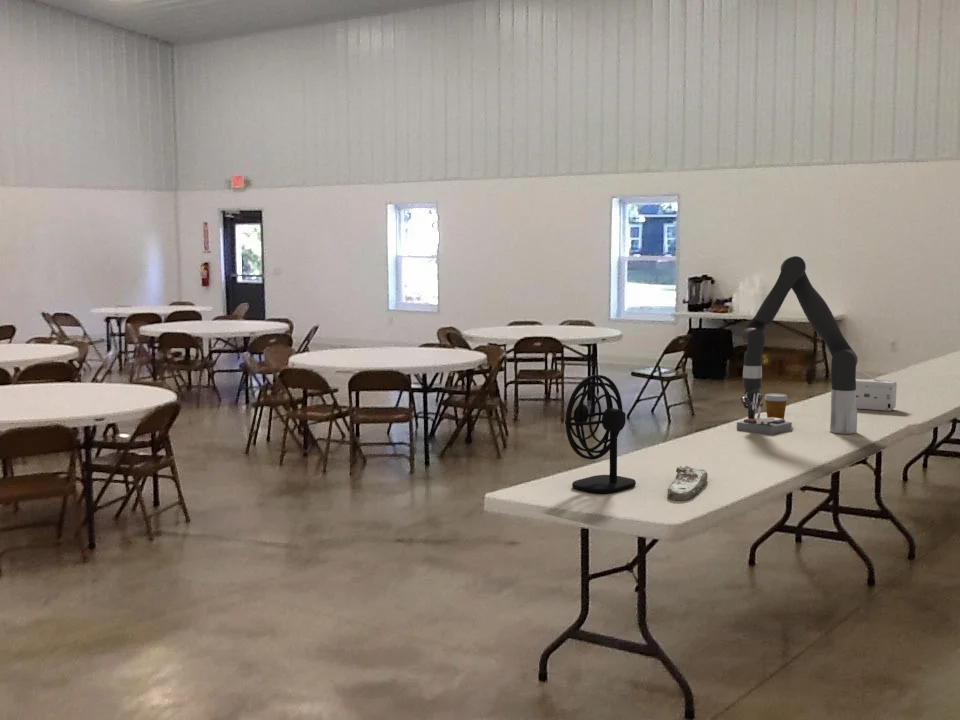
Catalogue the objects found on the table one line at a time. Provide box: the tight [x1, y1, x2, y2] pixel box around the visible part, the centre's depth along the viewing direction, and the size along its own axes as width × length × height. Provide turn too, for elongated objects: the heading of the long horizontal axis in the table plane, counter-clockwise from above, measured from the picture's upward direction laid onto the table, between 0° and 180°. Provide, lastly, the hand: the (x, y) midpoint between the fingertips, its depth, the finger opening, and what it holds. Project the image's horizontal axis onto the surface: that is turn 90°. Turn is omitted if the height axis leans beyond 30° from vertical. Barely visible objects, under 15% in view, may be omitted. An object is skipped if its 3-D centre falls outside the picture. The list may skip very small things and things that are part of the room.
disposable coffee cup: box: [764, 392, 789, 420], centre depth 430 cm, size 10×10×12 cm
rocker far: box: [756, 417, 775, 424], centre depth 410 cm, size 6×4×2 cm, turn 43°
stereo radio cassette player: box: [855, 368, 898, 412], centre depth 463 cm, size 21×8×20 cm, turn 58°
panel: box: [736, 417, 793, 435], centre depth 415 cm, size 16×15×4 cm
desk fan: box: [564, 374, 637, 494], centre depth 319 cm, size 27×18×35 cm, turn 134°
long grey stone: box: [667, 465, 709, 502], centre depth 318 cm, size 35×5×10 cm
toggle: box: [756, 402, 764, 419], centre depth 423 cm, size 2×2×7 cm
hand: (751, 418), depth 416 cm, fingers closed
